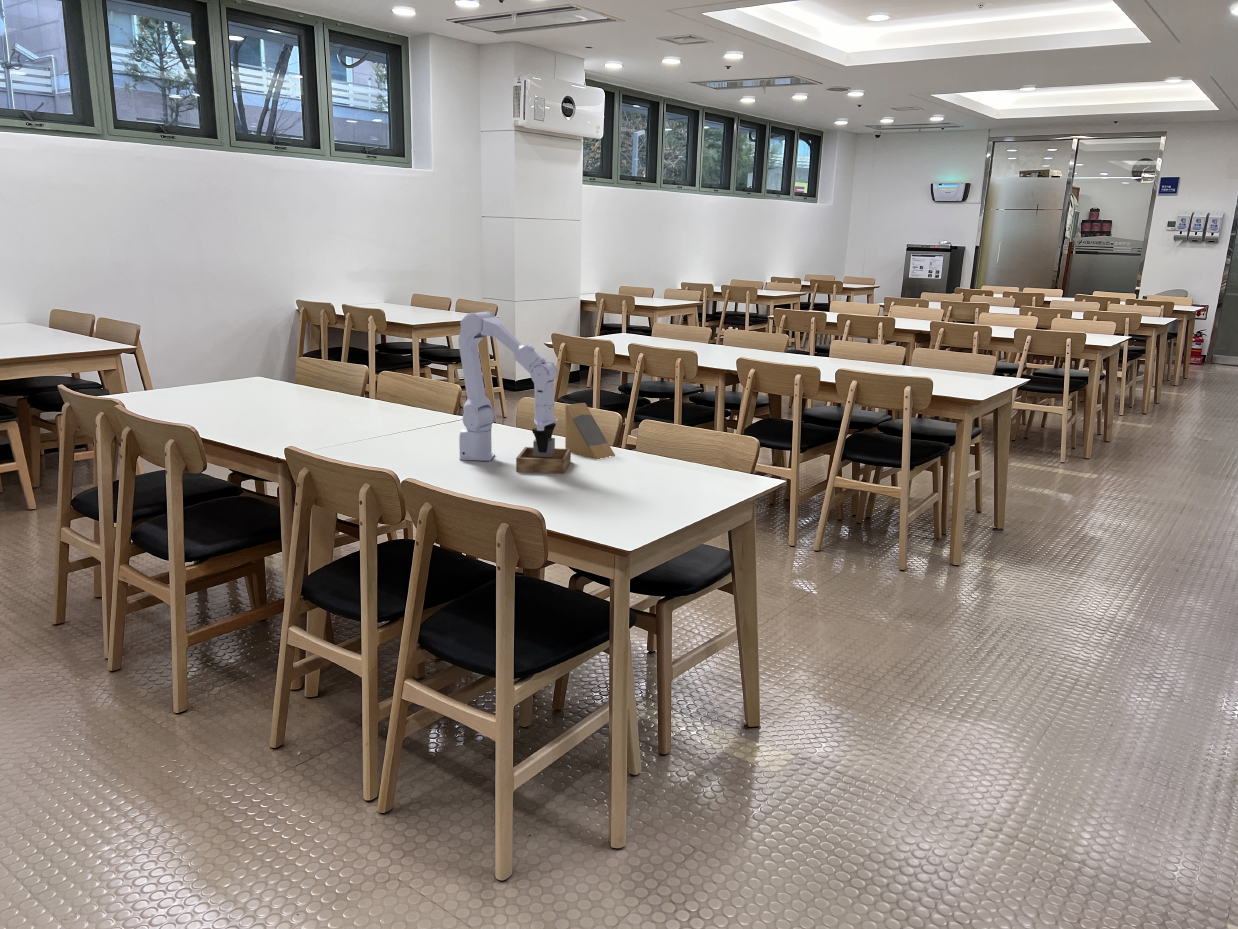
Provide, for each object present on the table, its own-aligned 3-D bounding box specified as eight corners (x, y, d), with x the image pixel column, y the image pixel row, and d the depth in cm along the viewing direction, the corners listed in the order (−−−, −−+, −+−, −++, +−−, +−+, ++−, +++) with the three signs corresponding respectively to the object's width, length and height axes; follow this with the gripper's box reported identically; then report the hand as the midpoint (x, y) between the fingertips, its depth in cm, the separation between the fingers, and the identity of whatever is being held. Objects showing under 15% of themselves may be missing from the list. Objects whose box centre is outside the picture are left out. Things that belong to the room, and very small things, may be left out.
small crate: (533, 456, 255) (533, 441, 254) (536, 451, 260) (536, 437, 259) (552, 457, 254) (552, 442, 253) (554, 452, 260) (554, 438, 259)
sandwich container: (596, 460, 268) (597, 412, 264) (564, 451, 278) (564, 405, 275) (616, 456, 274) (618, 409, 270) (584, 447, 284) (585, 402, 280)
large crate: (516, 471, 252) (516, 458, 251) (525, 459, 265) (525, 447, 264) (564, 473, 251) (564, 460, 250) (570, 461, 264) (570, 448, 263)
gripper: (554, 409, 246) (553, 456, 250) (561, 400, 260) (561, 444, 264) (529, 408, 247) (529, 455, 250) (538, 399, 261) (538, 443, 264)
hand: (544, 449), depth 257 cm, fingers closed on small crate, 5 cm apart
